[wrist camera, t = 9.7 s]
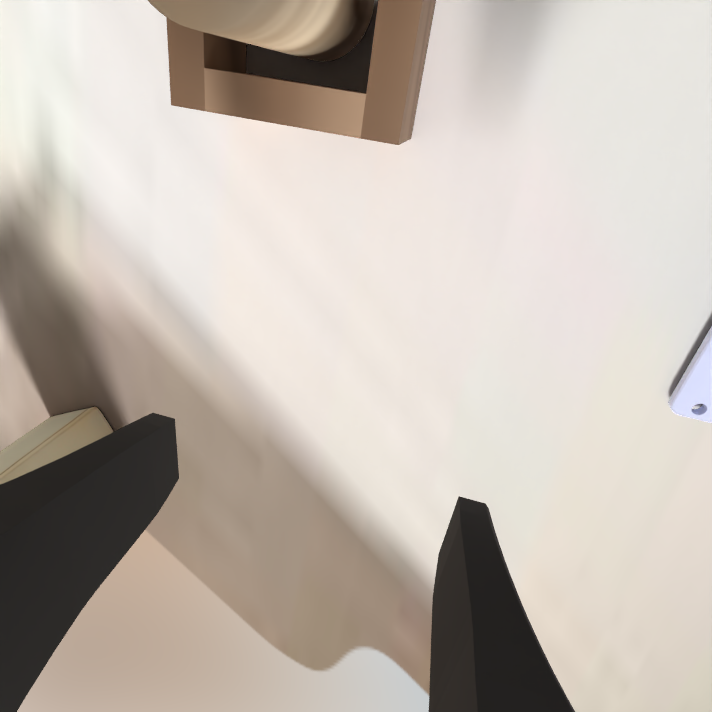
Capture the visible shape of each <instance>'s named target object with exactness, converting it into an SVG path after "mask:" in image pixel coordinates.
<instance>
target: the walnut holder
mask: <svg viewBox="0 0 712 712" xmlns="http://www.w3.org/2000/svg"><path fill="white" fill-rule="evenodd" d="M435 2H436V0H378V7H377V15H376V22H375V30H374V38H373V45H372V53H371V61H370V68H369V76H368V84H367V92H366V93H365V92H359V91H353V90H347V89H340V88H334V87H328V86H322V85H316V84H309V83H303V82H297V81H291V80H285V79H279V78H272V77H266V76H260V75H254V74H248V73H246V43H244V42H240V41H236V40H233V39H229V38H225V37H221V36H217V35H213V34H209V33H206V32H202V31H198V30H194V29H191V28H188V27H185V26H182V25H180V24H178V23H176V22H174V21H172V20H170V19H169V18H167V35H168V53H169V72H170V91H171V105H173V106H179V107H185V108H190V109H196V110H202V111H207V112H213V113H219V114H225V115H230V116H236V117H242V118H247V119H253V120H259V121H264V122H270V123H276V124H281V125H287V126H293V127H299V128H304V129H310V130H316V131H321V132H327V133H333V134H338V135H344V136H350V137H356V138H361V139H367V140H373V141H378V142H384V143H390V144H395V145H399V144H401V143H403V142H405V141H407V140H409V139H411V136H412V131H413V125H414V119H415V114H416V108H417V103H418V97H419V92H420V86H421V80H422V75H423V69H424V64H425V58H426V53H427V47H428V41H429V36H430V30H431V25H432V19H433V14H434V8H435Z"/></svg>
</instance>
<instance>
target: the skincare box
mask: <svg viewBox="0 0 712 712" xmlns="http://www.w3.org/2000/svg"><path fill="white" fill-rule="evenodd" d="M113 432H114V431H113V430H112V428H111V427H110V425H109V424H108V422H107V420H106V419H105V417H104V416H103V414H102V413H101V411H100V410H99V409H98V408H97V407H92V408H87V409H82V410H78V411H73V412H69V413H65V414H60V415H56V416H52V417H50V418H48V419H47V420H45V421H44V422H43V423H41V424H40V425H38V426H37V427H35V428H34V429H32V430H31V431H29V432H28V433H27V434H25V435H24V436H22V437H21V438H19V439H18V440H16V441H15V442H14V443H12V444H11V445H9V446H8V447H6V448H5V449H3V450H2V451H1V452H0V484H3V483H5V482H8V481H10V480H13V479H15V478H17V477H20V476H22V475H24V474H26V473H28V472H31V471H33V470H35V469H37V468H40V467H42V466H44V465H46V464H48V463H51V462H53V461H55V460H57V459H60V458H62V457H64V456H66V455H68V454H70V453H72V452H74V451H76V450H78V449H80V448H82V447H84V446H87V445H89V444H91V443H93V442H95V441H97V440H99V439H101V438H103V437H105V436H107V435H109V434H111V433H113Z"/></svg>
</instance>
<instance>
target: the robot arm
mask: <svg viewBox="0 0 712 712" xmlns="http://www.w3.org/2000/svg"><path fill="white" fill-rule="evenodd" d="M668 403H669V407H670V408H671V410H672V411H673V412H674V413H675V414H677V415H679V416H684V417H688V418H692V419H696V420H701V421H705V422H709V423H712V326H711V328H710V330H709V331H708V333H707V335H706V337H705V338H704V340H703V342H702V343H701V345H700V347H699V349H698V350H697V352H696V354H695V356H694V357H693V359H692V361H691V362H690V364H689V366H688V368H687V369H686V371H685V373H684V374H683V376H682V378H681V380H680V381H679V383H678V385H677V386H676V388H675V390H674V392H673V393H672V395H671V397H670V399H669V402H668ZM697 404H703V405H702V406H701V407H700V408H698V409H692V407H693V406H694V405H697ZM178 479H179V472H178V458H177V444H176V430H175V419H173V418H170V417H166V416H162V415H159V414H155V413H152V414H149V415H147V416H145V417H143V418H141V419H139V420H137V421H135V422H133V423H131V424H129V425H127V426H125V427H123V428H121V429H119V430H117V431H115V432H113V433H111V434H109V435H107V436H105V437H103V438H101V439H99V440H97V441H95V442H93V443H91V444H89V445H87V446H84V447H82V448H80V449H78V450H76V451H74V452H72V453H70V454H68V455H66V456H64V457H62V458H60V459H57V460H55V461H53V462H51V463H48V464H46V465H44V466H42V467H40V468H37V469H35V470H33V471H31V472H28V473H26V474H24V475H22V476H20V477H17V478H15V479H13V480H10V481H8V482H5V483H3V484H0V712H17V710H18V709H19V707H20V705H21V703H22V702H23V700H24V699H25V697H26V695H27V694H28V692H29V690H30V689H31V687H32V686H33V684H34V683H35V681H36V679H37V678H38V676H39V675H40V673H41V671H42V670H43V668H44V667H45V665H46V664H47V662H48V660H49V659H50V657H51V656H52V654H53V652H54V651H55V649H56V648H57V646H58V645H59V643H60V642H61V640H62V639H63V637H64V636H65V634H66V632H67V631H68V629H69V628H70V627H71V625H72V624H73V622H74V621H75V619H76V618H77V616H78V615H79V613H80V612H81V610H82V609H83V607H84V606H85V605H86V603H87V602H88V601H89V599H90V598H91V597H92V595H93V594H94V593H95V591H96V590H97V589H98V588H99V586H100V585H101V584H102V582H103V581H104V580H105V579H106V577H107V576H108V575H109V574H110V572H111V571H112V570H113V569H114V568H115V566H116V565H117V564H118V562H119V561H120V560H121V559H122V557H123V556H124V555H125V554H126V553H127V551H128V550H129V549H130V548H131V546H132V545H133V544H134V543H135V541H136V540H137V539H138V538H139V536H140V535H141V534H142V533H143V531H144V530H145V529H146V528H147V526H148V525H149V524H150V522H151V521H152V520H153V519H154V517H155V516H156V515H157V513H158V512H159V510H160V509H161V507H162V505H163V504H164V502H165V501H166V499H167V498H168V496H169V494H170V492H171V491H172V489H173V487H174V486H175V484H176V482H177V481H178ZM429 712H575V711H574V709H573V707H572V706H571V704H570V702H569V700H568V699H567V697H566V695H565V693H564V691H563V689H562V687H561V685H560V683H559V682H558V680H557V678H556V676H555V674H554V672H553V670H552V668H551V666H550V664H549V662H548V660H547V658H546V656H545V654H544V652H543V650H542V648H541V646H540V644H539V641H538V639H537V637H536V635H535V633H534V630H533V628H532V626H531V624H530V622H529V620H528V617H527V615H526V613H525V610H524V608H523V606H522V603H521V601H520V598H519V596H518V593H517V591H516V588H515V586H514V583H513V581H512V578H511V576H510V573H509V570H508V568H507V565H506V562H505V560H504V557H503V554H502V551H501V548H500V545H499V542H498V539H497V536H496V533H495V530H494V526H493V523H492V519H491V516H490V512H489V508H488V507H487V505H486V504H485V503H481V502H477V501H474V500H470V499H466V498H463V497H459V498H458V500H457V503H456V506H455V509H454V512H453V515H452V518H451V521H450V523H449V526H448V529H447V532H446V535H445V538H444V541H443V543H442V546H441V549H440V552H439V557H438V564H437V570H436V577H435V585H434V593H433V606H432V634H431V666H430V697H429Z"/></svg>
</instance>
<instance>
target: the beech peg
mask: <svg viewBox="0 0 712 712" xmlns="http://www.w3.org/2000/svg"><path fill="white" fill-rule="evenodd" d="M148 1H149V2H150V3H151V4H152V5H153V6H154V7H155V8H156V9H157V10H158V11H159V12H160V13H162V14H163V15H164V16H166V17H167V18H169V19H170V20H172V21H174V22H176V23H178V24H180V25H182V26H185V27H188V28H191V29H194V30H198V31H202V32H206V33H209V34H213V35H217V36H221V37H225V38H229V39H233V40H236V41H240V42H244V43H248V44H252V45H256V46H259V47H263V48H267V49H271V50H275V51H279V52H283V53H286V54H290V55H294V56H298V57H302V58H306V59H310V60H314V61H332V60H335V59H338V58H340V57H342V56H344V55H346V54H347V53H348V52H350V51H351V50H352V49H353V48H354V47H355V46H356V45H357V44H358V43H359V42H360V40H361V39H362V37H363V36H364V34H365V32H366V30H367V28H368V26H369V23H370V20H371V17H372V13H373V8H374V1H375V0H148Z"/></svg>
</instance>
